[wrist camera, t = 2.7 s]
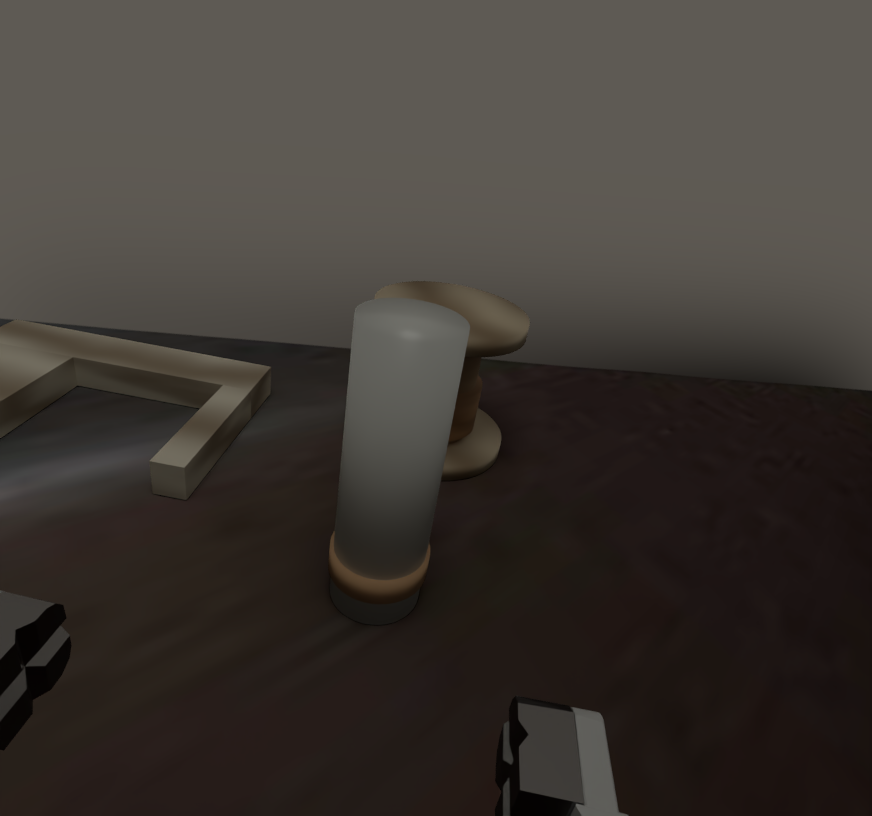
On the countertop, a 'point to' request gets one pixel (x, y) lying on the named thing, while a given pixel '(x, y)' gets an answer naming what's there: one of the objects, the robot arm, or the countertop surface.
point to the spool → (471, 366)
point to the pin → (393, 453)
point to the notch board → (134, 390)
